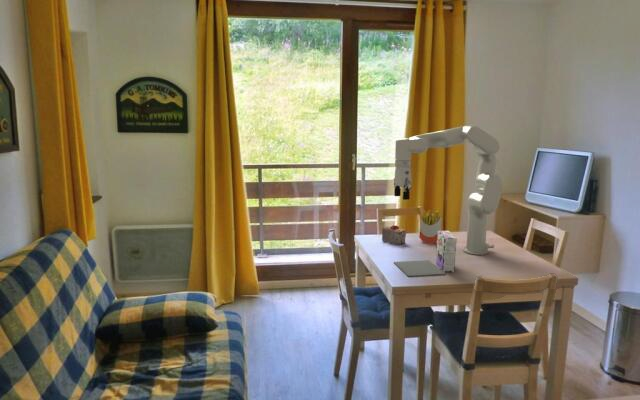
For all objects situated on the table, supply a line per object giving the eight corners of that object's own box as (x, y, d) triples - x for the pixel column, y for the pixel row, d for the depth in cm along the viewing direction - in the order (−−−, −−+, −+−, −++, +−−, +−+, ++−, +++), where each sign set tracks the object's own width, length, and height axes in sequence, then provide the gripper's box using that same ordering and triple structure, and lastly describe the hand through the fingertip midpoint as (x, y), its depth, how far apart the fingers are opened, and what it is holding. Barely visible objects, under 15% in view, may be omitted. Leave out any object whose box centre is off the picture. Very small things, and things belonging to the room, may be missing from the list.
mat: (428, 261, 237) (428, 260, 237) (445, 274, 218) (445, 273, 218) (393, 263, 234) (393, 261, 234) (407, 276, 215) (407, 275, 215)
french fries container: (437, 244, 267) (438, 213, 263) (418, 241, 273) (420, 210, 269) (440, 243, 270) (441, 211, 267) (422, 240, 276) (423, 209, 273)
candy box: (435, 262, 235) (437, 230, 232) (447, 263, 235) (449, 230, 232) (442, 272, 221) (444, 237, 218) (455, 272, 221) (457, 237, 218)
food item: (408, 243, 269) (408, 226, 267) (399, 246, 264) (400, 228, 262) (388, 239, 279) (388, 222, 277) (379, 241, 273) (380, 224, 271)
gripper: (418, 165, 229) (416, 200, 232) (401, 161, 245) (400, 194, 249) (403, 165, 227) (402, 201, 230) (388, 161, 243) (387, 195, 246)
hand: (401, 197), depth 239 cm, fingers open, 9 cm apart
